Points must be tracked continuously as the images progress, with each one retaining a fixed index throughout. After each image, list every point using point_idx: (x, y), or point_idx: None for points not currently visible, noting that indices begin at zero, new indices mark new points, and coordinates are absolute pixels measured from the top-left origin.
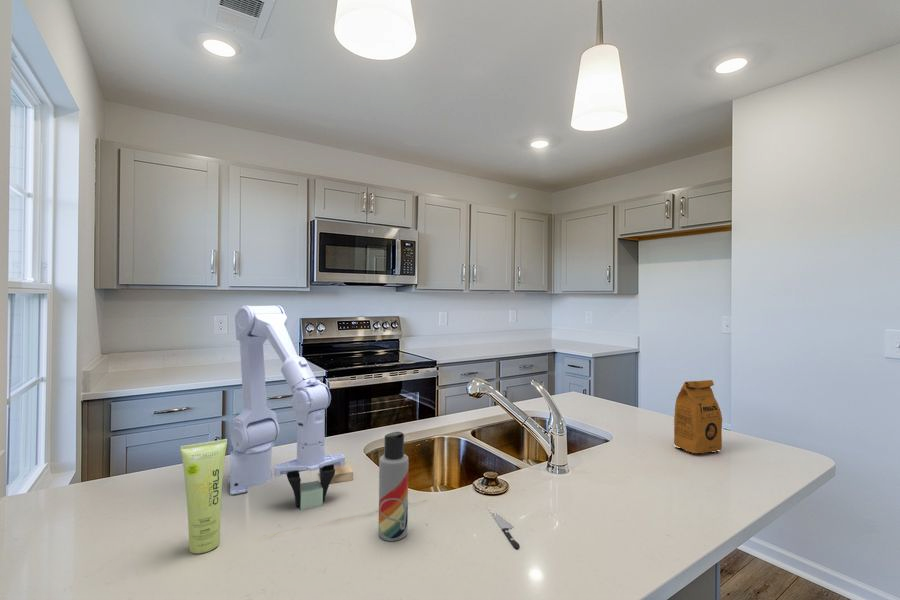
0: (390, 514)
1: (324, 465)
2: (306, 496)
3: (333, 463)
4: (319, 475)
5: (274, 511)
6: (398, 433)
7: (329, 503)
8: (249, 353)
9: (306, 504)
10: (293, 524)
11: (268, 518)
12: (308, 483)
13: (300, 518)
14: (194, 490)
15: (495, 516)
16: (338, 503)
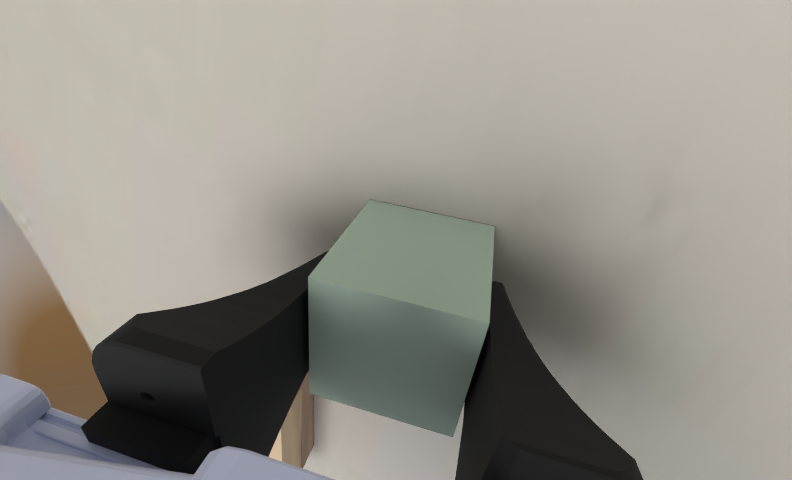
0: None
1: (124, 474)
2: (448, 285)
3: (80, 455)
4: (302, 459)
5: (591, 354)
6: None
7: (316, 255)
8: None
9: (455, 250)
10: (578, 159)
11: (661, 313)
12: (385, 402)
13: (507, 203)
14: None
15: None
16: (274, 228)
